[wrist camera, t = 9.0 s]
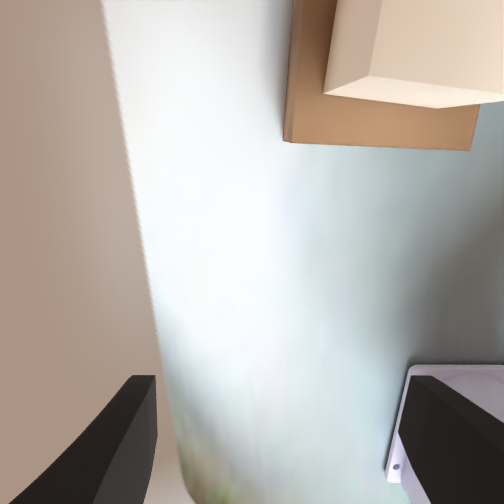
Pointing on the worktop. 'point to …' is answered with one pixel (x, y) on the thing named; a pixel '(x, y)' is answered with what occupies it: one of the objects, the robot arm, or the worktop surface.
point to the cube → (418, 52)
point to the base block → (356, 99)
